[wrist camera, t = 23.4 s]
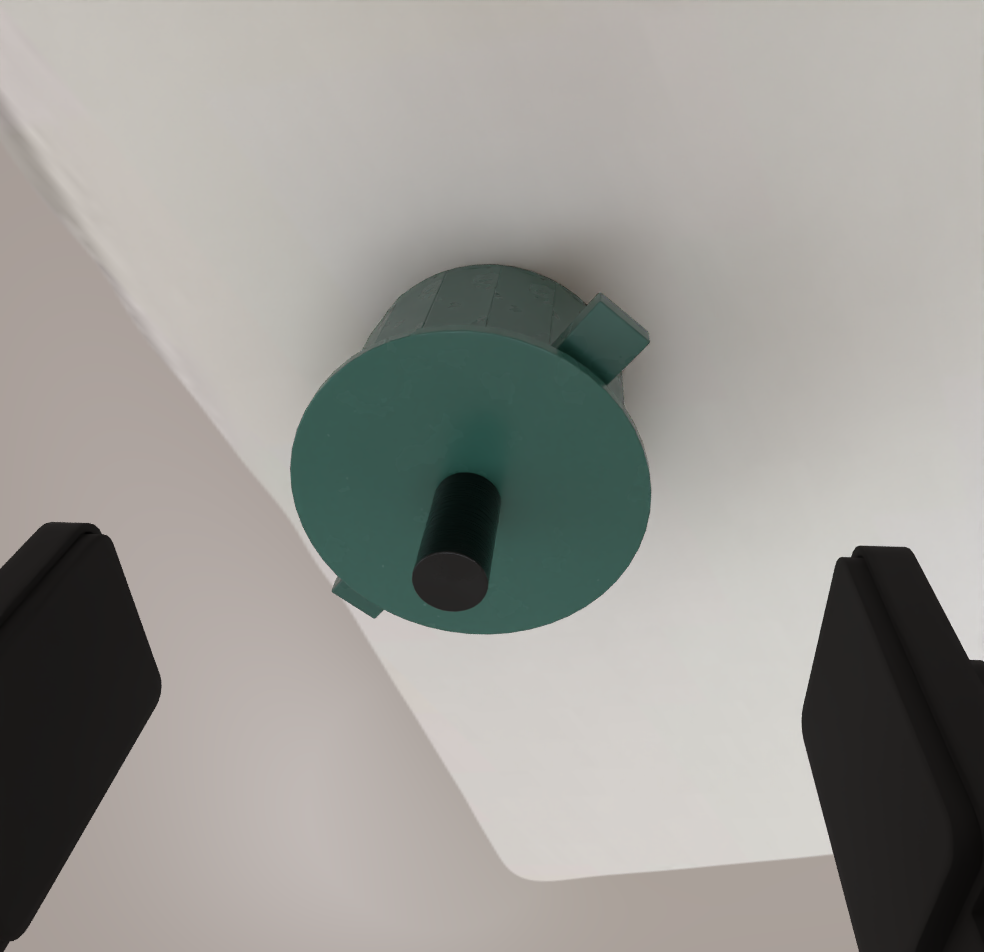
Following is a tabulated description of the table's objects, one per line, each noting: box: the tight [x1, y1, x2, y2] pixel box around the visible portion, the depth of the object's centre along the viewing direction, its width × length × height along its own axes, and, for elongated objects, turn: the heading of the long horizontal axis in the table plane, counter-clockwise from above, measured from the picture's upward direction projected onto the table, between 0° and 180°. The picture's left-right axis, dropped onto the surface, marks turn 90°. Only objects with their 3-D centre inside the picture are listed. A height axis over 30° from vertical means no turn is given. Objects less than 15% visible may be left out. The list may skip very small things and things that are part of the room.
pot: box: [332, 265, 650, 619], centre depth 36 cm, size 12×18×9 cm
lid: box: [290, 325, 651, 634], centre depth 31 cm, size 14×14×6 cm
